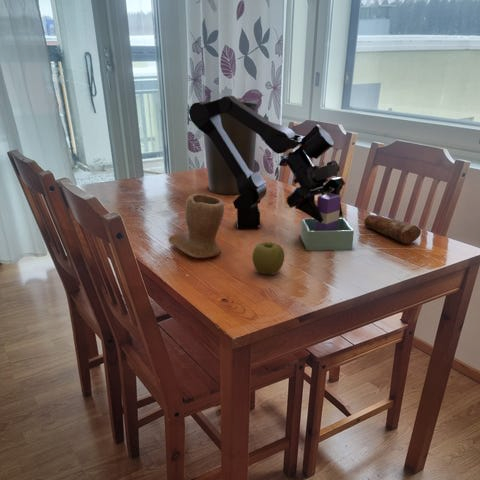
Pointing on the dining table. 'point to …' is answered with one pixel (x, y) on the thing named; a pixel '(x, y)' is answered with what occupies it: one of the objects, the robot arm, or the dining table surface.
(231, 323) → the dining table surface
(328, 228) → the purple tall block
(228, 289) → the dining table surface
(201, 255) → the stone cup
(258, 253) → the apple
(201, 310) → the dining table surface
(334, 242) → the bin
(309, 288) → the dining table surface
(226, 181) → the waste basket
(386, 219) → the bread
